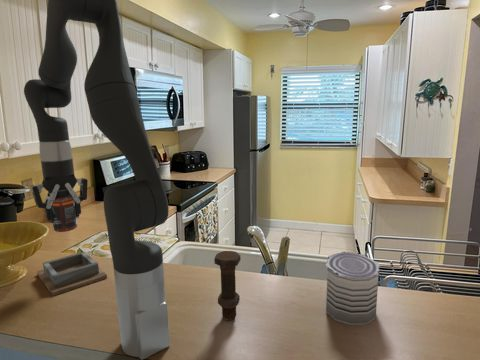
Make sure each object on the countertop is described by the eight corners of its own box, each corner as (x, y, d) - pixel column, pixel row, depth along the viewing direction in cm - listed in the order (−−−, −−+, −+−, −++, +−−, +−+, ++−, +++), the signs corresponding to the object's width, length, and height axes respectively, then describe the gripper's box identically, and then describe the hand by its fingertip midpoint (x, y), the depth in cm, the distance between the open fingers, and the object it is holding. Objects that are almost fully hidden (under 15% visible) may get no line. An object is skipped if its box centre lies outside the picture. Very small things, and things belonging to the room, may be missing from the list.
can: (374, 301, 86) (377, 254, 84) (379, 329, 76) (382, 277, 73) (325, 295, 89) (327, 250, 87) (323, 321, 79) (325, 271, 76)
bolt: (219, 326, 78) (216, 261, 75) (214, 313, 83) (212, 252, 79) (244, 321, 79) (243, 258, 76) (238, 309, 84) (237, 249, 81)
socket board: (107, 277, 101) (105, 264, 100) (52, 295, 92) (50, 281, 91) (87, 260, 112) (86, 248, 112) (37, 274, 103) (35, 261, 103)
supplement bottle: (81, 225, 102) (77, 186, 99) (70, 233, 96) (64, 191, 93) (61, 225, 102) (56, 186, 100) (48, 232, 96) (43, 191, 94)
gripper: (29, 162, 87) (38, 228, 91) (89, 156, 97) (96, 216, 100) (22, 159, 93) (31, 221, 97) (80, 153, 102) (86, 210, 106)
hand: (64, 218), depth 98 cm, fingers closed on supplement bottle, 6 cm apart
